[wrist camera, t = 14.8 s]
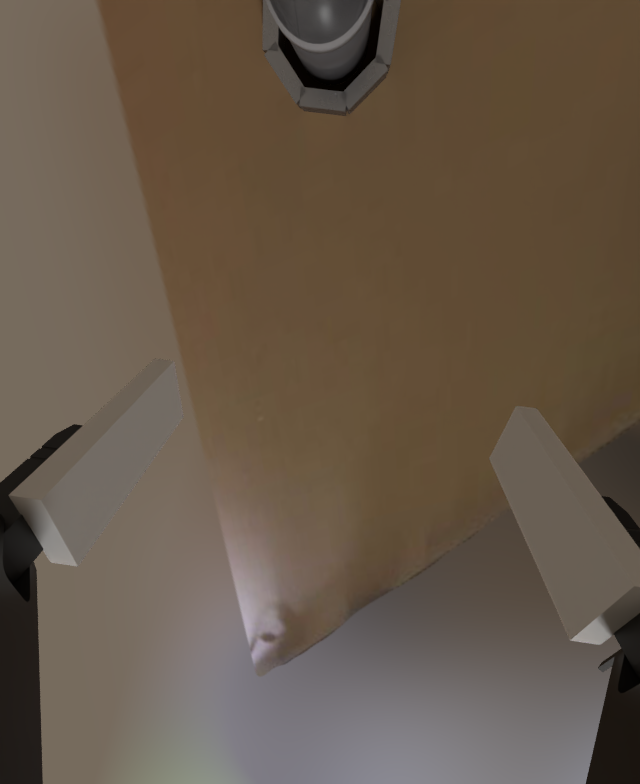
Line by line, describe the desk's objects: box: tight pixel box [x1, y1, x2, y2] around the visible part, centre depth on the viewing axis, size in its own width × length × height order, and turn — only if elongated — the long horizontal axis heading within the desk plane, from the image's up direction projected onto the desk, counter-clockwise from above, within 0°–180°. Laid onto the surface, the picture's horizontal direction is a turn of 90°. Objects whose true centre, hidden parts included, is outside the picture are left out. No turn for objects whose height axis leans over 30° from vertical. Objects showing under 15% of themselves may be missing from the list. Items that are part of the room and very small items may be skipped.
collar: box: [263, 0, 401, 116], centre depth 27 cm, size 10×10×3 cm
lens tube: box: [266, 0, 374, 86], centre depth 23 cm, size 6×6×12 cm
